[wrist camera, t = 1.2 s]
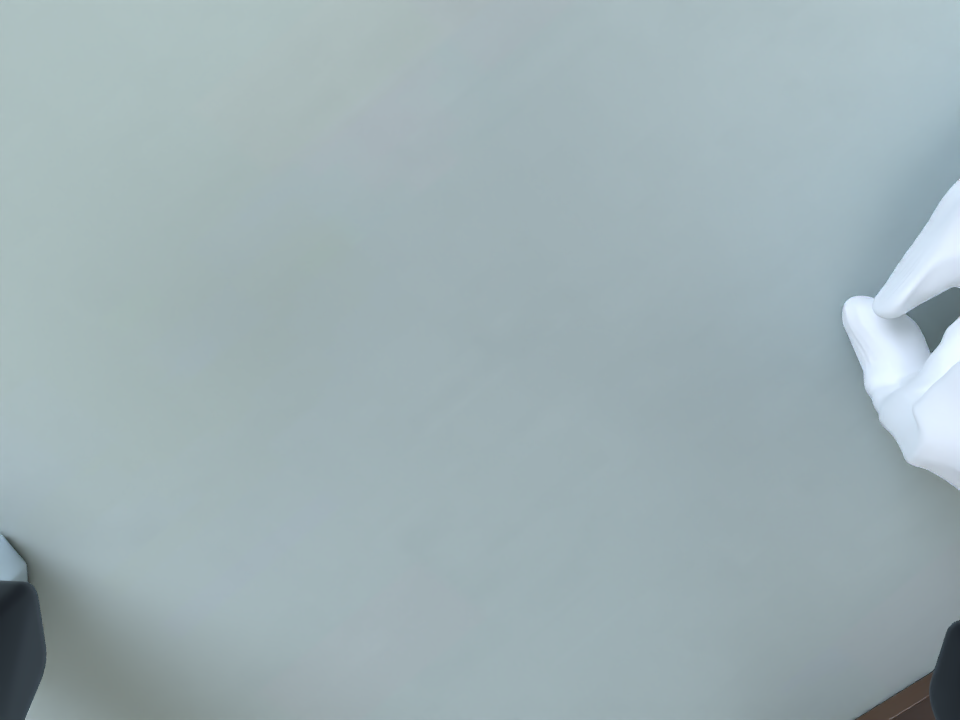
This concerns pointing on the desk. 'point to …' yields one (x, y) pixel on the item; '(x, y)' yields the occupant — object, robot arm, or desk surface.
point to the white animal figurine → (915, 348)
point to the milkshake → (11, 563)
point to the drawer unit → (905, 704)
